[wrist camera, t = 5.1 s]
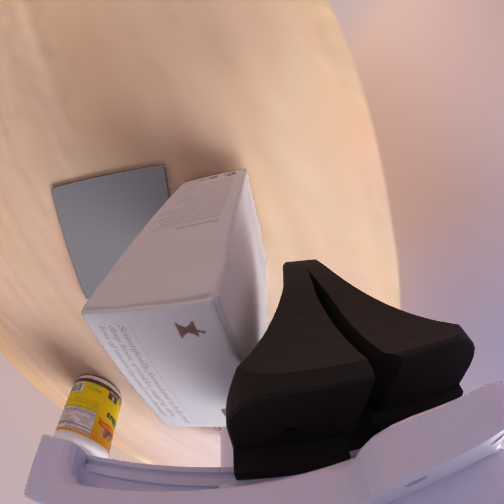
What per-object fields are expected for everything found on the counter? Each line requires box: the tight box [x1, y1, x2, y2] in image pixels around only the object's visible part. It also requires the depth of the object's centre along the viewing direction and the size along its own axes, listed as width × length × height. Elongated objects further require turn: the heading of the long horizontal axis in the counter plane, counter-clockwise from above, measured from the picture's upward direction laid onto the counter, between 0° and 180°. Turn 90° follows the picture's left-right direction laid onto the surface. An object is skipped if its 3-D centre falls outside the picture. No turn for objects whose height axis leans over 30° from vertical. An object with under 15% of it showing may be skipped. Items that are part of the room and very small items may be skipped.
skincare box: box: [81, 169, 267, 427], centre depth 13 cm, size 6×4×12 cm
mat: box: [51, 164, 169, 299], centre depth 19 cm, size 9×8×1 cm
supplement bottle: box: [55, 375, 122, 458], centre depth 22 cm, size 6×6×10 cm
